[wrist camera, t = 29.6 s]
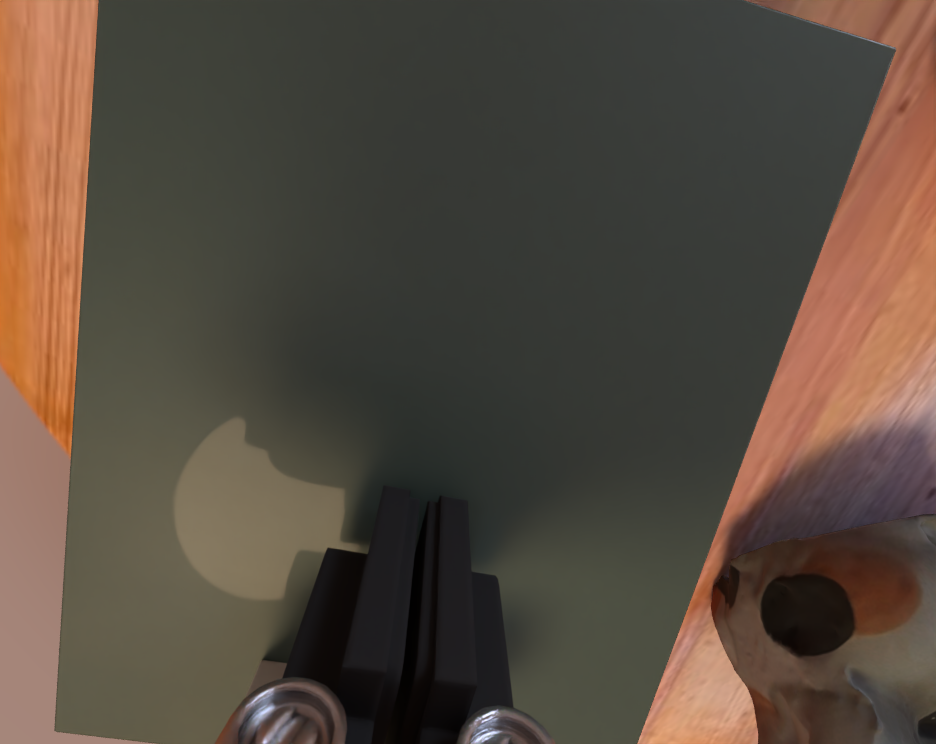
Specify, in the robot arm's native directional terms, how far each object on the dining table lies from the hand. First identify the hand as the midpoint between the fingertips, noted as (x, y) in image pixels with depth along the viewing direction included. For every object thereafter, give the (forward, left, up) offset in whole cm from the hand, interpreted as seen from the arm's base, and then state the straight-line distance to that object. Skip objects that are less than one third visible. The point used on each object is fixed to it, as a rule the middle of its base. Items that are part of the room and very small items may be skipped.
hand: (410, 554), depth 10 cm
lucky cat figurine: (+22, -8, -11) cm, 26 cm away
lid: (0, +2, -1) cm, 3 cm away
